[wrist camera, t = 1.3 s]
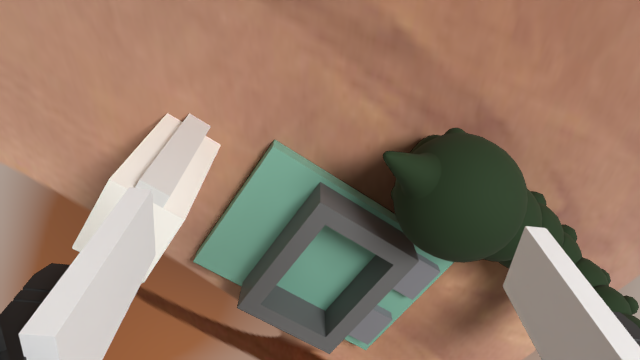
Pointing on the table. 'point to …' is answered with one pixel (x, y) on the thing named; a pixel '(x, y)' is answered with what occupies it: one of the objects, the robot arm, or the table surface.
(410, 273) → the board
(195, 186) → the plug
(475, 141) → the toy figurine
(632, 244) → the table surface
